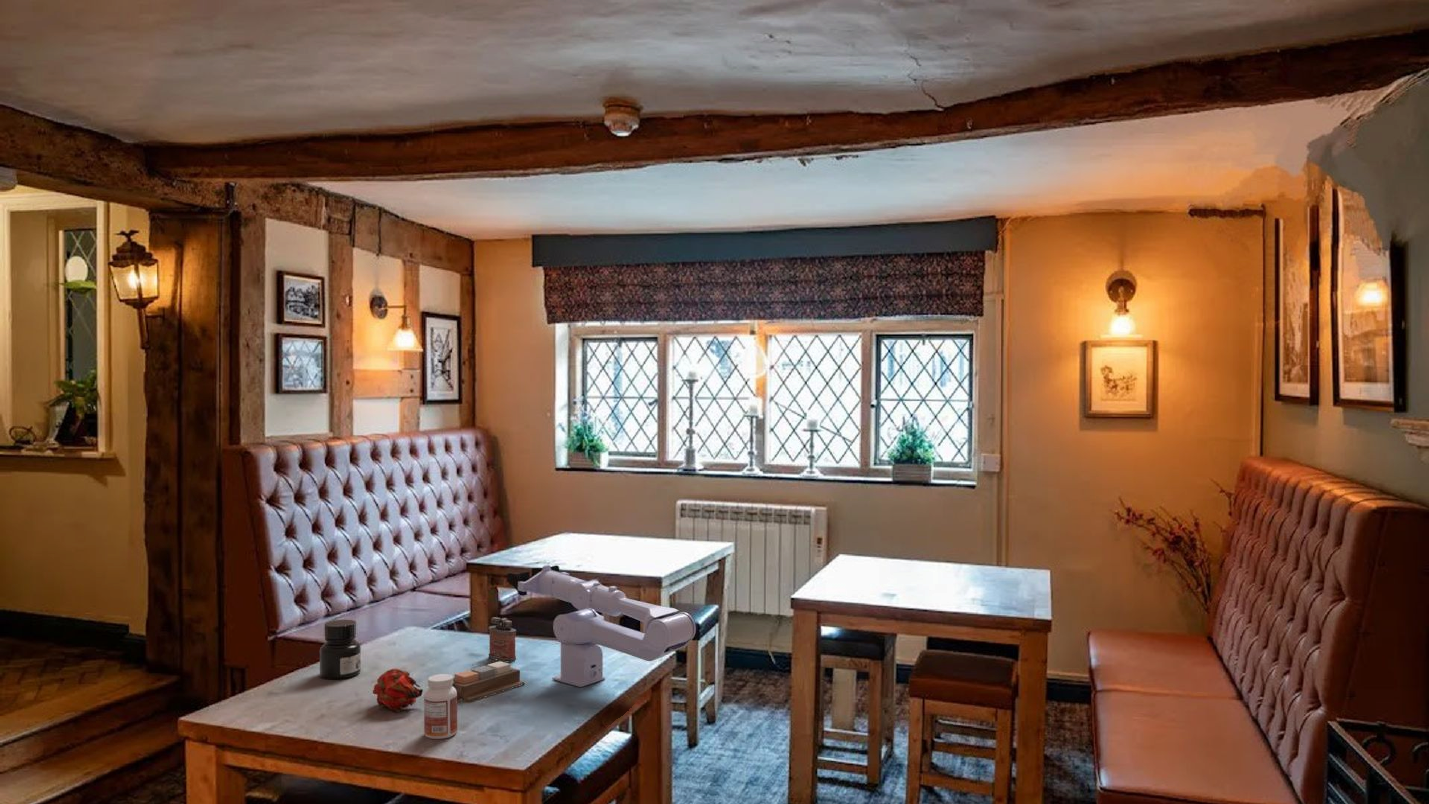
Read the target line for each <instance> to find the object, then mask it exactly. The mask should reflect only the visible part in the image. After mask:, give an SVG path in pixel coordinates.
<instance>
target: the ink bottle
mask: <svg viewBox="0 0 1429 804" xmlns="http://www.w3.org/2000/svg"><path fill="white" fill-rule="evenodd" d="M356 636H357V622H356V620H353V619H336V620H331V621H326V622H325V623H324V641H325V642H324V644H322V646H320V647H319V648H320V649H319V676H320V677H321V678H323V679H327V680H342V679H350V678H352V677H355V676H357V675H359V674H360V672H361V671H362V667H361V665H362V664H361V663H362V660H361V659H362V656H361V655H362V654H361V653H362V652H361V649H362V647H361V646H362V645H361V644H360V643H359V642H358V641H357V640H356Z"/></svg>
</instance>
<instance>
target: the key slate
mask: <svg viewBox="0 0 1429 804" xmlns="http://www.w3.org/2000/svg"><path fill="white" fill-rule="evenodd" d="M470 671H472V672H475V673H478V681H479V680H483V679H486V678H489V677H493V676H495V669H494V668H490V667H487V665H483V666H482V665H481V666H479V667H476V668H471V670H470Z"/></svg>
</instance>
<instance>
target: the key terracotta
mask: <svg viewBox="0 0 1429 804" xmlns="http://www.w3.org/2000/svg"><path fill="white" fill-rule="evenodd" d="M453 678H454V681H455V682H458V683H461V684H465V685H466V684H469V683H473V682H476V681H478V673H475V672H472V671H471V670H468V669H467V670H464V671H461V672H456V673H454V676H453Z"/></svg>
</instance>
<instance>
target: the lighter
mask: <svg viewBox="0 0 1429 804" xmlns="http://www.w3.org/2000/svg"><path fill="white" fill-rule="evenodd" d="M512 623H513V622H512V620H509V619H508V618H506V617H503V618H501V617H497V616H495V617H492V618H491V624H495V625H491V626H489V627H488V631H489V653H488V658H489V659H490V658H493V659H497V660H500V661H501V662H503V661H514V662H516V661H517V656H516V634H517V629H516V628H512V626H513V625H512ZM493 659H492V660H493ZM497 660H496V661H497ZM515 660H516V661H515Z"/></svg>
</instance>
